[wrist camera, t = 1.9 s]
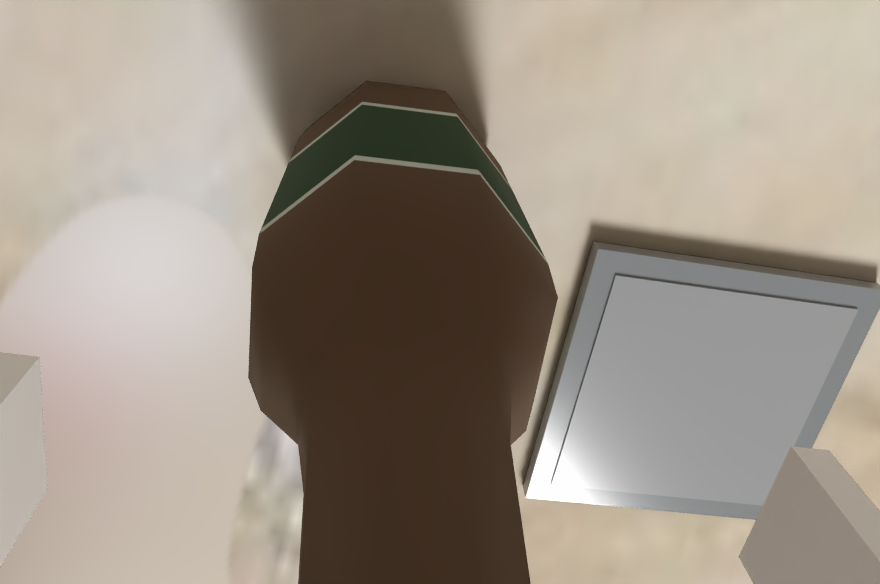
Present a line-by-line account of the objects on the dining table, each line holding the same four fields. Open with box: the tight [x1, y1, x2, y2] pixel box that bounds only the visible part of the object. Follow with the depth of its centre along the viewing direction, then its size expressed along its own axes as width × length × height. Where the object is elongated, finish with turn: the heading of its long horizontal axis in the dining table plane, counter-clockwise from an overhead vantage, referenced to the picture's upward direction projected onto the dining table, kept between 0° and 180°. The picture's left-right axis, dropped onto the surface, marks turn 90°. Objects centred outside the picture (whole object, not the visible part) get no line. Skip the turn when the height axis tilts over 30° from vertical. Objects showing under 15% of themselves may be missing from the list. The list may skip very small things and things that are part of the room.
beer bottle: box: [248, 81, 558, 584], centre depth 18 cm, size 8×8×24 cm
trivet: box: [523, 241, 880, 520], centre depth 34 cm, size 13×13×1 cm
